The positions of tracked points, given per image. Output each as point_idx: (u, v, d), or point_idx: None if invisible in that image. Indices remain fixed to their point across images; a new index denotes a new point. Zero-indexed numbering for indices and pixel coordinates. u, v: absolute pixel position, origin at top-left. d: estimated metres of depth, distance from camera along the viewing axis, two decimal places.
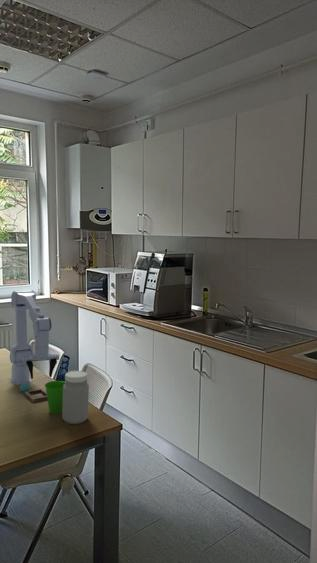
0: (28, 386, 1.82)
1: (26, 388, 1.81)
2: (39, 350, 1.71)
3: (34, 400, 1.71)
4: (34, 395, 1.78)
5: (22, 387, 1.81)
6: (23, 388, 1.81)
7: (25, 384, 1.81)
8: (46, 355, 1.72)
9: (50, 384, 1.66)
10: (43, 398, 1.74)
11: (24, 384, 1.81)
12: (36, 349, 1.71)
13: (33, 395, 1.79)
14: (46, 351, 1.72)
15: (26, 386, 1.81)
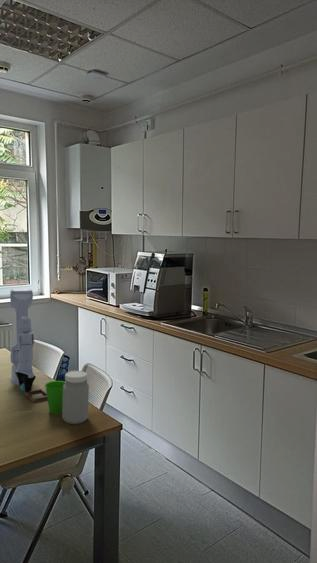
0: None
1: None
2: None
3: (34, 400, 1.71)
4: (34, 395, 1.78)
5: (22, 387, 1.81)
6: (23, 388, 1.81)
7: None
8: (21, 369, 1.79)
9: (50, 384, 1.66)
10: (43, 398, 1.74)
11: None
12: None
13: (33, 395, 1.79)
14: (21, 364, 1.78)
15: None
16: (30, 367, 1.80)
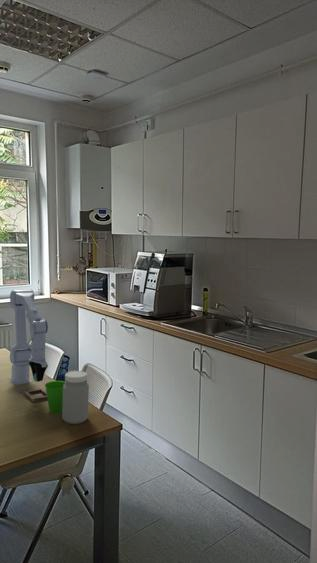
0: None
1: None
2: (31, 350, 1.75)
3: (34, 400, 1.71)
4: (34, 395, 1.78)
5: (35, 377, 1.75)
6: (36, 378, 1.75)
7: None
8: (34, 358, 1.73)
9: (50, 384, 1.66)
10: (43, 398, 1.74)
11: None
12: None
13: (33, 395, 1.79)
14: (34, 353, 1.73)
15: None
16: (43, 356, 1.75)
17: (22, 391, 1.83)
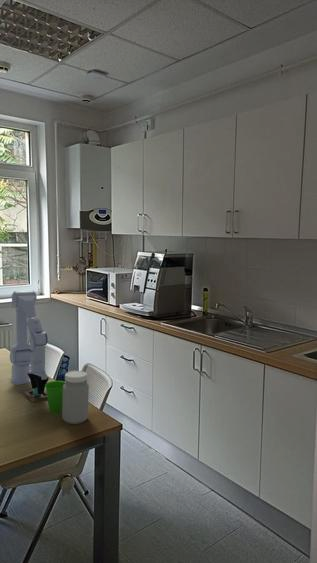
0: None
1: None
2: (31, 362, 1.76)
3: (34, 400, 1.71)
4: None
5: (35, 392, 1.75)
6: (36, 393, 1.75)
7: None
8: (34, 370, 1.74)
9: (50, 384, 1.66)
10: (43, 398, 1.74)
11: None
12: None
13: (33, 395, 1.79)
14: (34, 365, 1.73)
15: None
16: (43, 368, 1.75)
17: (22, 391, 1.83)
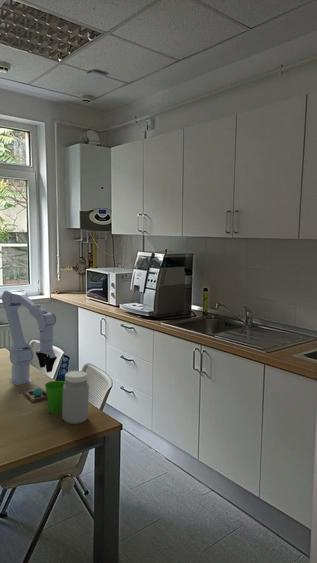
0: (41, 391, 1.77)
1: (39, 393, 1.76)
2: None
3: (34, 400, 1.71)
4: None
5: (35, 392, 1.75)
6: (36, 393, 1.75)
7: (38, 389, 1.76)
8: (42, 349, 1.81)
9: (50, 384, 1.66)
10: (43, 398, 1.74)
11: (37, 389, 1.76)
12: None
13: (33, 395, 1.79)
14: (42, 345, 1.81)
15: (39, 391, 1.76)
16: (51, 347, 1.83)
17: (22, 391, 1.83)
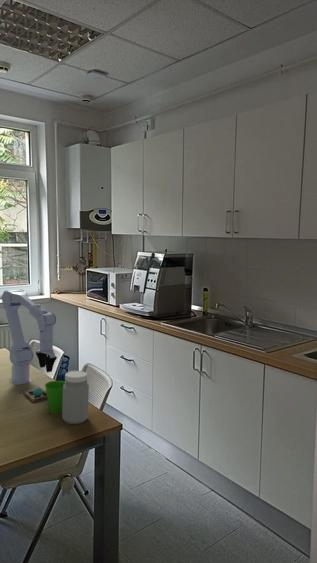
0: (41, 391, 1.77)
1: (39, 393, 1.76)
2: None
3: (34, 400, 1.71)
4: None
5: (35, 392, 1.75)
6: (36, 393, 1.75)
7: (38, 389, 1.76)
8: (42, 349, 1.81)
9: (50, 384, 1.66)
10: (43, 398, 1.74)
11: (37, 389, 1.76)
12: None
13: (33, 395, 1.79)
14: (42, 345, 1.81)
15: (39, 391, 1.76)
16: (51, 347, 1.83)
17: (22, 391, 1.83)
